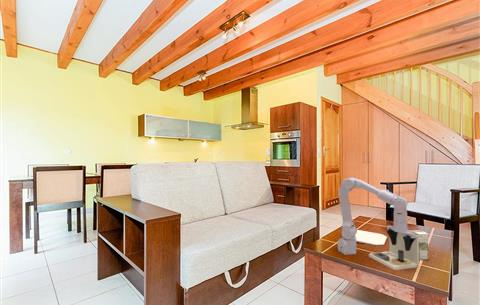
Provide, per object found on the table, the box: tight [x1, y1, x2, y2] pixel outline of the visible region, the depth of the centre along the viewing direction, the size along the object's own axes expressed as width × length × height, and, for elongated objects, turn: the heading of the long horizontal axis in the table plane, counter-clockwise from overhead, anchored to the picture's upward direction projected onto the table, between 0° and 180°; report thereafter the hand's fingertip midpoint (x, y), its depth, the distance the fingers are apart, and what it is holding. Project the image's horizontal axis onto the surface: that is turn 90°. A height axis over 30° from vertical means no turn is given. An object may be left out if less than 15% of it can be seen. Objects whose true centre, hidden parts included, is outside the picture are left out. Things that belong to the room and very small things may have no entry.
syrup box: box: [410, 230, 429, 261], centre depth 127 cm, size 6×6×14 cm
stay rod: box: [398, 250, 404, 263], centre depth 117 cm, size 2×2×7 cm
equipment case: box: [368, 233, 420, 271], centre depth 120 cm, size 15×16×16 cm
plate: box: [341, 229, 388, 246], centre depth 157 cm, size 25×25×2 cm
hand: (400, 247), depth 117 cm, fingers open, 7 cm apart
